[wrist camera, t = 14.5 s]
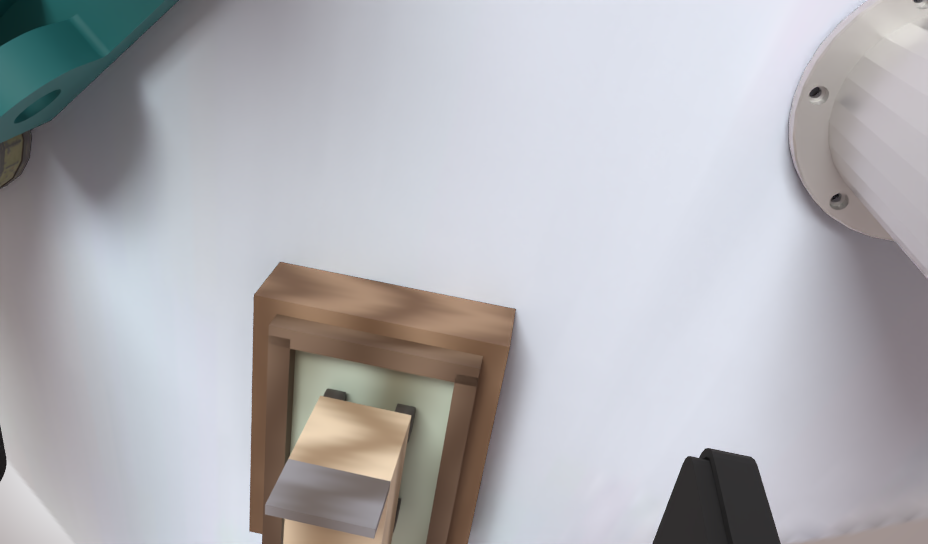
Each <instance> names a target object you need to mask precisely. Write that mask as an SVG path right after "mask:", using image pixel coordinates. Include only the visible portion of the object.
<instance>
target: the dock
mask: <svg viewBox="0 0 928 544" xmlns="http://www.w3.org/2000/svg"><path fill="white" fill-rule="evenodd" d="M515 310H516V309H512V308H507V307H502V306H497V305H492V304H487V303H482V302H477V301H472V300H467V299H462V298H457V297H452V296H447V295H442V294H437V293H432V292H428V291H423V290H418V289H413V288H408V287H403V286H398V285H393V284H388V283H383V282H378V281H373V280H368V279H363V278H358V277H353V276H348V275H343V274H338V273H333V272H328V271H323V270H318V269H313V268H308V267H303V266H298V265H293V264H288V263H283V262H280V263H279V264H278V265H277V266H276V268H275V269H274V270H273V271H272V273H271V274H270V275H269V277H268V278H267V279H266V280H265V282H264V283H263V284H262V285H261V287H260V288H259V289H258V291H257V292H256V293H255V294H254V319H253V372H252V425H251V478H250V531H251V532H255V533H260V534H262V544H283V539H284V522H285V519H284V518H279V517H275V516H270V515H266V514H265V504H266V502H267V500H268V498H269V496H270V494H271V492H272V490H273V488H274V486H275V484H276V482H277V480H278V478H279V476H280V474H281V472H282V470H283V468H284V466H285V464H286V462H287V460H288V458H289V457H290V455H291V453H292V451H293V449H294V447H295V445H296V443H297V441H298V439H299V437H300V435H301V433H302V431H303V429H304V427H305V425H306V423H307V421H308V419H309V417H310V415H311V413H312V411H313V409H314V407H315V405H316V403H317V401H318V399H319V397H320V396H324V393H325V391H326V390H327V389H328V388H329V389H334V390H338V391H343V392H346V395H347V396H346V401H347V402H352V403H357V404H361V405H366V406H371V407H375V408H380V409H384V410H389V411H394V412H395V409H396V406H397V404H398V403H399V404H403V405H408V406H413V407H416V412H415V418H414V423H413V428H412V432H411V436H410V439H409V442H408V443H407V447H406V453H405V460H404V466H403V472H402V479H401V485H400V491H399V498H401V505H400V510H399V515H398V519H397V523H396V527H395V530H394V533H393V535H392V542H391V544H468V539H469V535H470V530H471V525H472V521H473V516H474V512H475V507H476V502H477V498H478V493H479V488H480V484H481V479H482V474H483V470H484V465H485V460H486V456H487V451H488V446H489V442H490V437H491V432H492V428H493V423H494V418H495V414H496V409H497V405H498V400H499V395H500V391H501V386H502V381H503V377H504V372H505V367H506V363H507V358H508V353H509V349H510V343H511V336H512V330H513V323H514V317H515Z"/></svg>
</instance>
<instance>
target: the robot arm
mask: <svg viewBox="0 0 928 544" xmlns="http://www.w3.org/2000/svg"><path fill="white" fill-rule="evenodd" d="M815 87H819V92H818V93H817V94H816V95H815V96H810V95H809V93H810V92H811V90H812V89H814V88H815ZM789 145H790V150H791V154H792V159H793V164H794V167H795V169H796V171H797V173H798V175H799V177H800V179H801V182H802V184H803V186H804V187H805V188H806V190H807V191H808V192H809V194H810V195H811V197H812V198H813V200H814V201H815V202H816V203H817V204H818V205H819V206H820V207H821V208H822V209H823V210H824V212H825V213H827V214H828V215H829V216H830V217H832V218H833V219H835V220H837V221H838V222H840V223H841V224H843V225H844V226H846V227H847V228H849V229H852V230H854V231H857V232H859V233H862V234H864V235H867V236H870V237H874V238H879V239H884V240H890V241H895V242H896V243H897V244H898V245H899V247H900V248H901V249H902V250H903V251H904V252H905V254H906V255H907V256H908V257H909V258H910V259H911V261H912V262H913V263H914V264H915V265H916V266H917V268H918V269H919V270H920V271H921V272H922V273H923V275H924V276H925V277H926V278H927V279H928V0H918V1H916V2H914V1H913V0H868V1H866V2H864V3H863V4H862V5H861V6H860V7H858V8H857V9H856V10H855V11H853V12H852V13H851V14H850V15H849V16H847V17H846V18H845V19H844V20H842V21H841V22H840V23H839V24H838V25H837V26H836V28H835V29H834V30H833V31H832V32H831V33H830V34H829V35H828V37H827V38H826V39H825V40H824V41H823V42H822V43H821V44H820V46H819V47H818V49H817V50H816V52H815V54H814V55H813V57H812V58H811V60H810V61H809V63H808V65H807V66H806V68H805V69H804V72H803V74H802V77H801V79H800V82H799V84H798V86H797V89H796V91H795V94H794V98H793V103H792V108H791V112H790V117H789ZM838 193H839V196H838V197H837V198H835V199H831V198H832V197H833V196H834V195H836V194H838ZM5 469H6V454H5V449H4V443H3V438H2V432H1V427H0V481H1V479H2V477H3V475H4V472H5ZM653 544H781V543H780V540H779V537H778V533H777V530H776V527H775V523H774V520H773V517H772V513H771V510H770V506H769V503H768V500H767V496H766V493H765V490H764V486H763V483H762V480H761V476H760V473H759V470H758V466H757V464H756V462H755V460H754V459H753V458H752V457H749V456H744V455H739V454H734V453H729V452H725V451H720V450H715V449H710V448H707V449H705V450H704V451H703V452H702V453H701V455H700V457H699V458H696V457H691V456H688V457H687V458H686V459H685V461H684V463H683V465H682V468H681V470H680V473H679V475H678V478H677V481H676V483H675V486H674V489H673V491H672V494H671V496H670V499H669V502H668V504H667V507H666V510H665V512H664V515H663V517H662V520H661V523H660V525H659V528H658V531H657V533H656V536H655V538H654V541H653Z"/></svg>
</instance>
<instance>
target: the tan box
mask: <svg viewBox="0 0 928 544" xmlns="http://www.w3.org/2000/svg"><path fill="white" fill-rule="evenodd" d="M346 396H347V395H346V392H343V391H338V390H334V389H329V388H328V389H327V390H326V391H325V393H324V396H320V397H319V399H318V401H317V403H316V405H315V407H314V409H313V411H312V413H311V415H310V417H309V419H308V421H307V423H306V425H305V427H304V429H303V431H302V433H301V435H300V437H299V439H298V441H297V443H296V445H295V447H294V449H293V451H292V453H291V455H290V457H289V458H288V460H287V462H286V464H285V466H284V468H283V470H282V472H281V474H280V476H279V478H278V480H277V482H276V484H275V486H274V488H273V490H272V492H271V494H270V496H269V498H268V500H267V502H266V504H265V514H266V515H270V516H275V517H279V518H284V519H285V522H284V539H283V544H391V542H392V535H393V533H394V530H395V527H396V523H397V519H398V515H399V510H400V505H401V498H399V491H400V485H401V479H402V472H403V466H404V460H405V453H406V447H407V443H408V442H409V439H410V436H411V432H412V428H413V423H414V418H415V412H416V407H413V406H408V405H403V404H399V403H398V404H397V406H396V409H395V412H394V411H389V410H384V409H380V408H375V407H371V406H366V405H361V404H357V403H352V402H347V401H346Z"/></svg>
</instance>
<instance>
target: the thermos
mask: <svg viewBox="0 0 928 544" xmlns="http://www.w3.org/2000/svg"><path fill="white" fill-rule="evenodd" d="M30 148H31V132H30V130H28V131H26V132H24V133H22V134H20V135H18V136H15V137H13V138H11V139H9V140H7V141H4V142H2V143H0V189H1V188H3V187H5V186H7V185H8V184H9V183H10V182H12V181H13V180H14V179H16V178H17V177H18V176H20V175H21V173H22V171H23V170H24V168H25V166H26V164H27V162H28V160H29V158H30Z"/></svg>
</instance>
